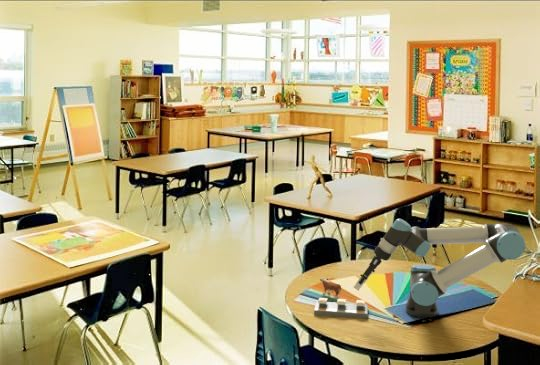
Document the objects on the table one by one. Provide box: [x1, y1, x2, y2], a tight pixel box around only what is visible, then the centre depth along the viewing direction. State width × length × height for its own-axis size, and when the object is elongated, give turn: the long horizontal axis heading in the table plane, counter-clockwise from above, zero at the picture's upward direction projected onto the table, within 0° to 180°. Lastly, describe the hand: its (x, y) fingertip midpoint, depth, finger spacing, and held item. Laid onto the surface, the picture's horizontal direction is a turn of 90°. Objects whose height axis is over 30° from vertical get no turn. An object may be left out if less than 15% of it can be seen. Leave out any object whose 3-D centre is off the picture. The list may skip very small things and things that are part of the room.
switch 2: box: [355, 299, 366, 306], centre depth 283 cm, size 4×7×1 cm, turn 170°
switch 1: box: [317, 297, 329, 304], centre depth 286 cm, size 4×7×1 cm, turn 170°
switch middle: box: [336, 298, 347, 305], centre depth 284 cm, size 4×7×1 cm, turn 170°
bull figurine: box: [319, 277, 342, 299], centre depth 304 cm, size 4×13×8 cm, turn 42°
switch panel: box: [313, 300, 369, 319], centre depth 284 cm, size 25×12×4 cm, turn 80°
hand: (359, 285), depth 273 cm, fingers open, 13 cm apart
